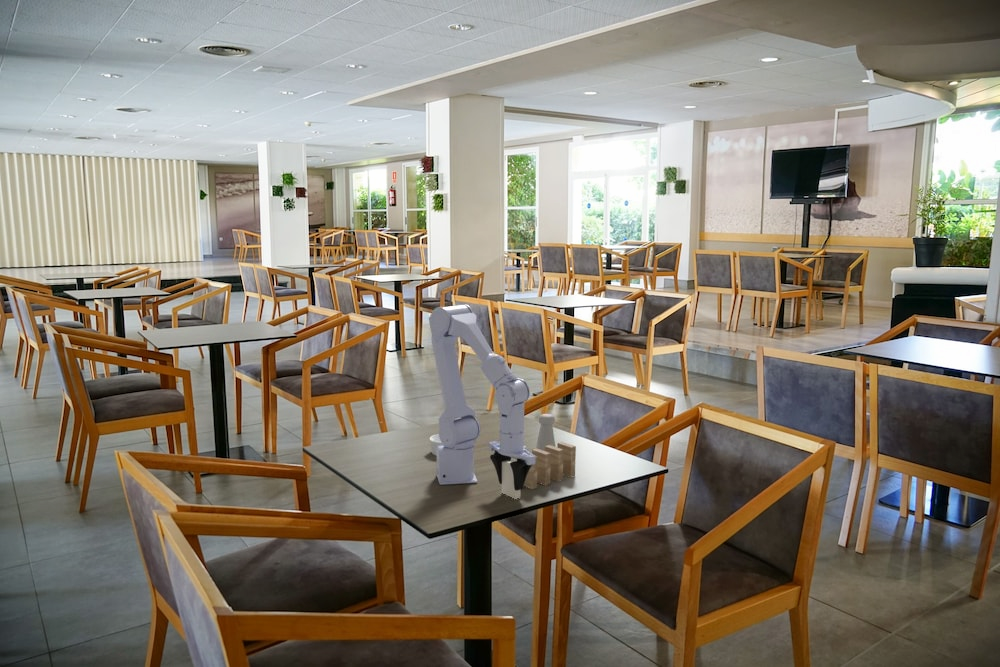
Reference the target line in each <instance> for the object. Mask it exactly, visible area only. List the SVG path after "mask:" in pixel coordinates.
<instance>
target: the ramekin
mask: <svg viewBox="0 0 1000 667" xmlns="http://www.w3.org/2000/svg"><path fill="white" fill-rule="evenodd" d="M429 441H430V442H429V443H430V451H431V454H432V455H433V456H436V457H437V446H442V445H443V443H442V442H441V440H440V438H439V433H438V434H433V435H431V436H430V437H429Z"/></svg>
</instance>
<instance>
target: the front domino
mask: <svg viewBox="0 0 1000 667" xmlns="http://www.w3.org/2000/svg"><path fill="white" fill-rule="evenodd" d="M511 462H512V461H503V462H502V484H501V494H502V493H503V494H506V495H508V496H510V497H512V498H511V499H513V498H514V499H513V500H515V499H516V500H518V499H517V498H519V499H521V490H522V489H521V490H518V491H516V490H515V489H514V477H513V471H512V468H511V465H510V463H511ZM503 494H502V495H503ZM506 495H505V496H506ZM508 496H507V497H508ZM510 497H509V498H510Z"/></svg>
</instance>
